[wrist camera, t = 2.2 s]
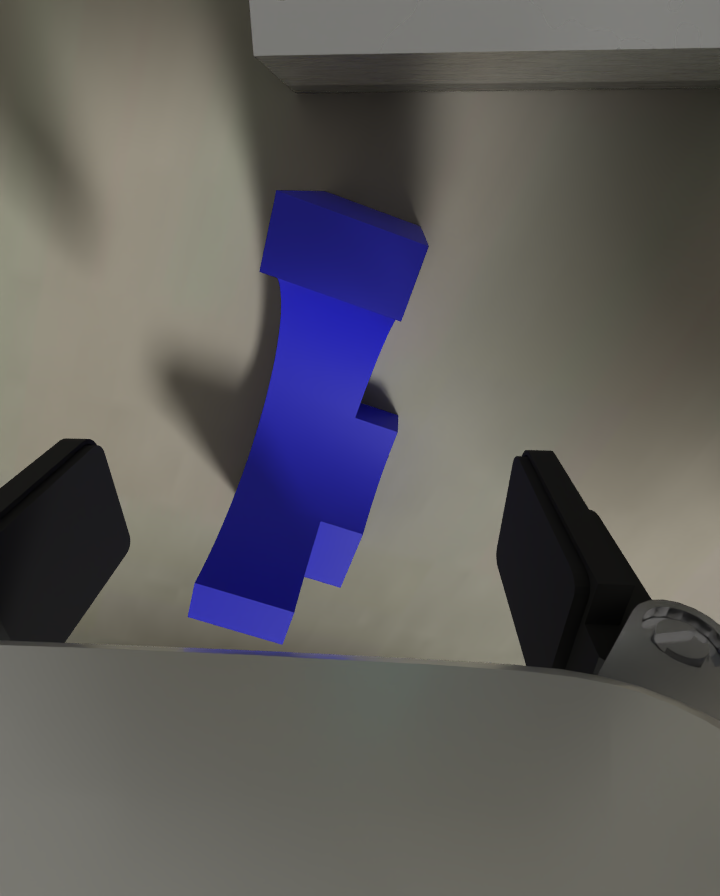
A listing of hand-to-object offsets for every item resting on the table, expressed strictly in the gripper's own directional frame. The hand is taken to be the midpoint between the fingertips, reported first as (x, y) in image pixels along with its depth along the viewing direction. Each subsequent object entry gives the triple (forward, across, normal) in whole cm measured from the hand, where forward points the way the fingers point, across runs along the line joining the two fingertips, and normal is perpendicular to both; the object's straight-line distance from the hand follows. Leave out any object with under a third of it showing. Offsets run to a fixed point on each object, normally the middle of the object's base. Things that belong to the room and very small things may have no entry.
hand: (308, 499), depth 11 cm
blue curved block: (+7, 0, 0) cm, 7 cm away
